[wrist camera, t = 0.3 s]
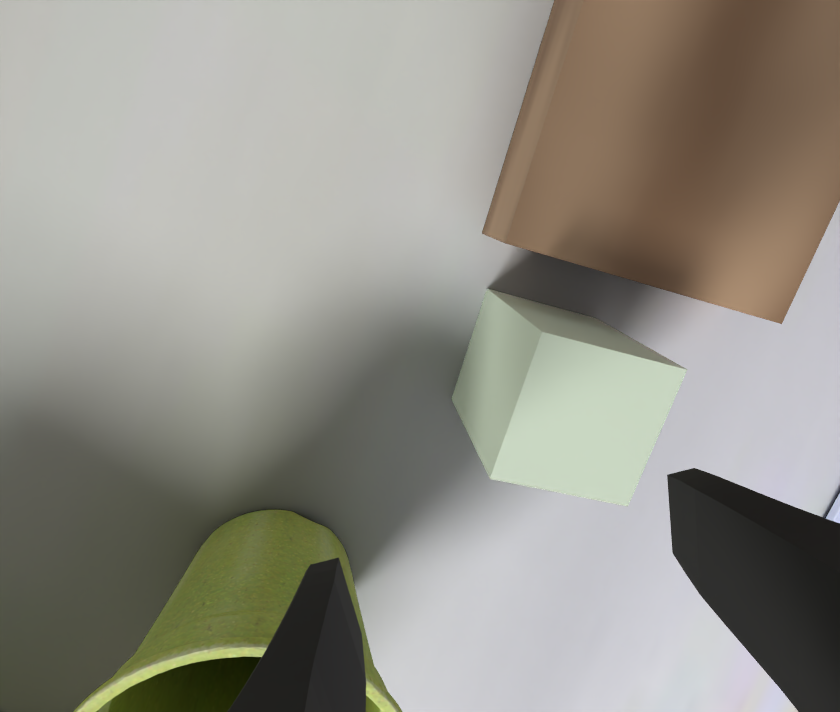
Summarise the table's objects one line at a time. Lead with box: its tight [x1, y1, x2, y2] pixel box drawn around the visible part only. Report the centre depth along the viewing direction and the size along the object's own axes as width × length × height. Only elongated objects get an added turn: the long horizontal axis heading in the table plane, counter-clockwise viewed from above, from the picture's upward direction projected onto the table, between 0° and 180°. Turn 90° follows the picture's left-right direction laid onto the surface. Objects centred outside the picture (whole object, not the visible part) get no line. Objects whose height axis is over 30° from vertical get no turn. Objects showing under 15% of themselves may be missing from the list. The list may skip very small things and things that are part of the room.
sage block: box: [451, 289, 687, 506], centre depth 19 cm, size 4×4×6 cm
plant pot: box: [74, 510, 402, 712], centre depth 19 cm, size 9×9×9 cm
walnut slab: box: [482, 0, 840, 324], centre depth 18 cm, size 10×10×3 cm
